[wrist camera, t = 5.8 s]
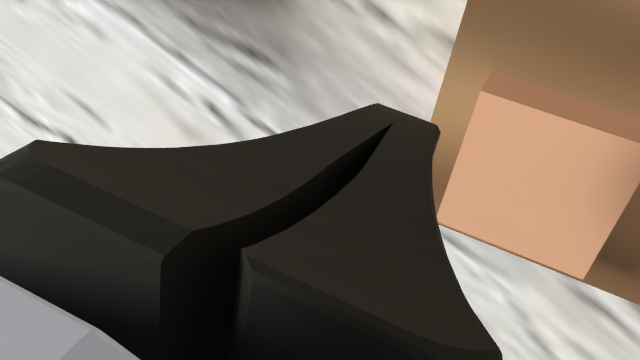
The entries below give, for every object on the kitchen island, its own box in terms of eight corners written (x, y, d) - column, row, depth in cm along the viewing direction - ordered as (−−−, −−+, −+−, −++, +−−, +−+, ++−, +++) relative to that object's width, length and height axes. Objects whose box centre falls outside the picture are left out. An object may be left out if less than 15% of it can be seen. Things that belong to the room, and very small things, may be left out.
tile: (586, 248, 18) (582, 279, 17) (447, 194, 19) (435, 220, 18) (657, 123, 16) (658, 149, 14) (491, 70, 17) (480, 90, 16)
